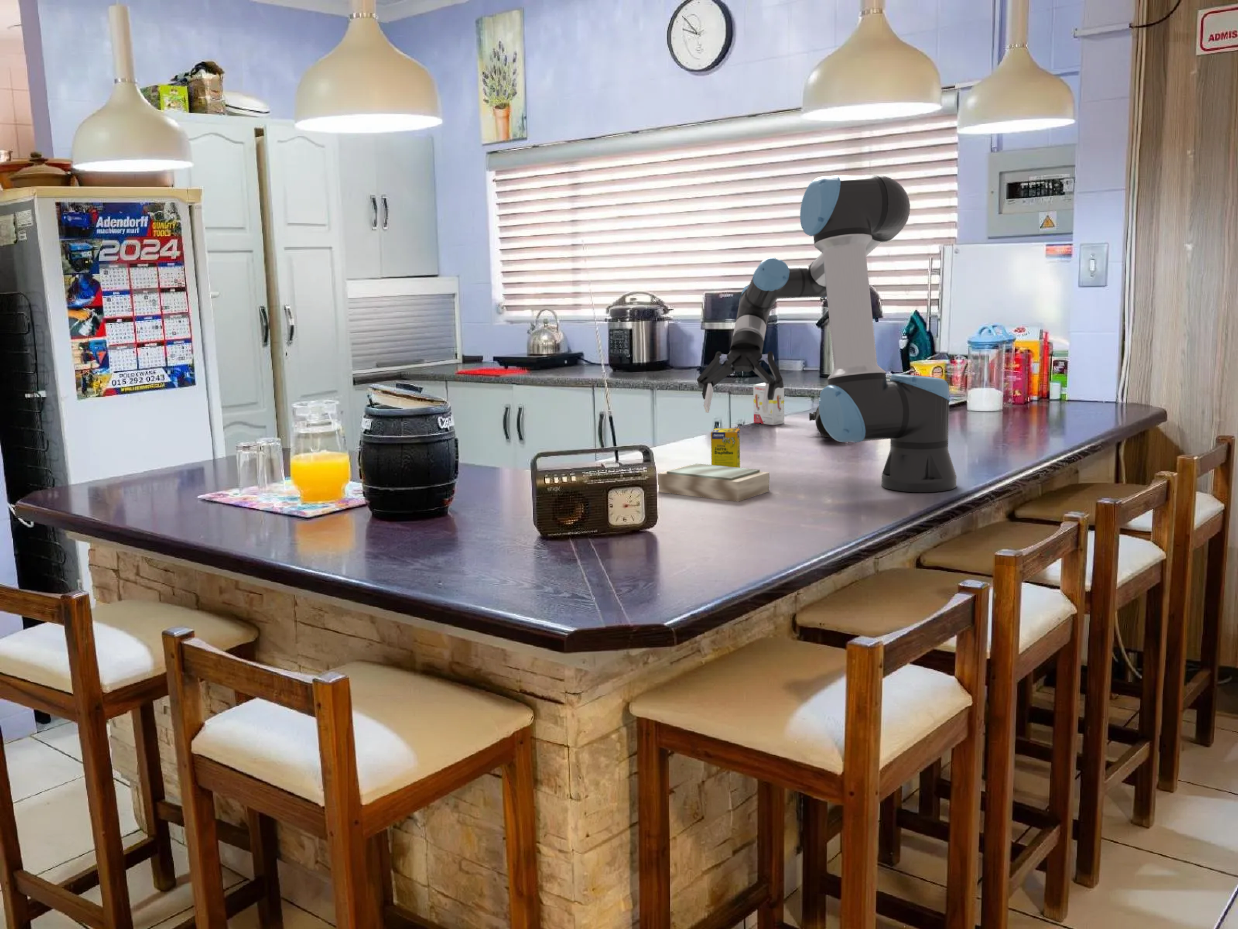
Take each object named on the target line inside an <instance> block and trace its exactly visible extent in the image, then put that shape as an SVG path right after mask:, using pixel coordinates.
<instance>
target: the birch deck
mask: <svg viewBox="0 0 1238 929" xmlns="http://www.w3.org/2000/svg"><path fill="white" fill-rule="evenodd" d="M658 485H659V492H658V493H666V494H671V493H672V494H673V495H680V496H681V495H682V496H689V497H698V498H707V499H714V500H721V501H722V500H723V501H729V502H730V501H731V502H742V501H743V500H748V499H750V498H753V497H757V496H760V495H762V494H765V493H769V492H770V472H769V471H761V470H760V469H756V468H745V467H740V468H737V467H727V466H717V465H711V464H706V463H705V464H704V463H692V464H688V465H684V466H680V467H676V468H673V469H669V470H665V471H661V472H658V473H657V486H658ZM672 494H671V495H672Z"/></svg>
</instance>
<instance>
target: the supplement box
mask: <svg viewBox="0 0 1238 929" xmlns="http://www.w3.org/2000/svg"><path fill="white" fill-rule="evenodd" d="M740 430H741V429H740V428H722V427H721V428H720V427H719V428H713V430H711V432H710V454H711V455H710V458H711V459H710V460H711V462H710V463H711V464H710V465H717V466H727V467H737V468H741V445H740V444H741V443H740V442H741V438H740V437H741V436H740V435H741V434H740V433H741V431H740Z"/></svg>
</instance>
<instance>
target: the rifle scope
mask: <svg viewBox="0 0 1238 929" xmlns="http://www.w3.org/2000/svg"><path fill="white" fill-rule="evenodd" d="M812 412H813V411H812ZM812 412H809V415H808V419H809V420H808V421H810V422H811V421H815V426H816V429H817V431H818V433H820V435H822V438H823V439H824V438H825V439H827V438H832V437H831V436H830V435H829V433H828V432H827V431H826V429H825V428H824V426H823V423H822V420H821V417H820V413H819V405H818V406H817V408H816V411H814V412H813V413H812Z"/></svg>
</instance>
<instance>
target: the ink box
mask: <svg viewBox="0 0 1238 929" xmlns="http://www.w3.org/2000/svg"><path fill="white" fill-rule="evenodd" d="M765 385H766V383H765V382H761V383H756V384H753V385H752V386H753V387H752V388H753V390H752V391H753V392H752V393H753V394H752V395H753V424H759V423H761V424H760V425H768V426H769V425H770V426H775V425H776V426H777V425H782V424H785V386H784V387H783V388H776V389H775V393H774V399H773V400H769V403H768V409H767V413H763V409H762V402H763V396H764V390H765ZM763 421H765V422H763Z"/></svg>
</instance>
